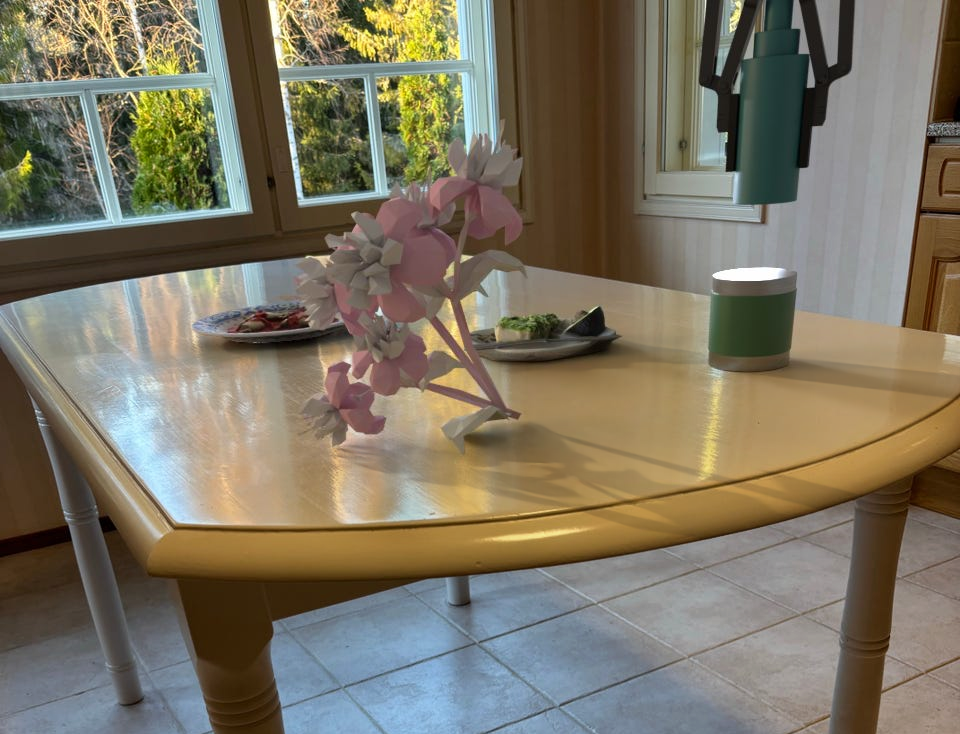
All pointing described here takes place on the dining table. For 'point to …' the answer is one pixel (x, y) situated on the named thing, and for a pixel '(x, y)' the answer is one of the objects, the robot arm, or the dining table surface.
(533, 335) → the salad plate
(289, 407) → the dining table surface
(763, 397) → the dining table surface
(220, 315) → the ceramic plate
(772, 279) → the tin
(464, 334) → the flower
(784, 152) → the bottle
